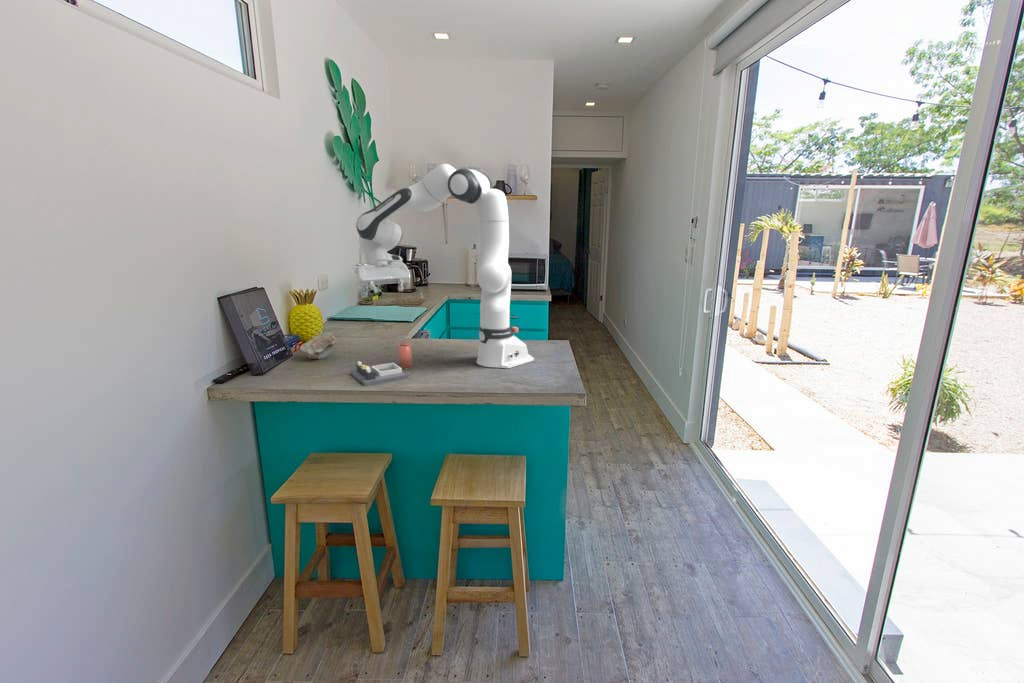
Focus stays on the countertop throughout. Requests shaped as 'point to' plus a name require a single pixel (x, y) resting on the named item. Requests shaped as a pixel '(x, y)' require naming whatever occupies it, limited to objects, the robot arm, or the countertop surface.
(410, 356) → the cap
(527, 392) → the countertop surface
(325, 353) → the stone
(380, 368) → the panel
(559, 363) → the countertop surface
